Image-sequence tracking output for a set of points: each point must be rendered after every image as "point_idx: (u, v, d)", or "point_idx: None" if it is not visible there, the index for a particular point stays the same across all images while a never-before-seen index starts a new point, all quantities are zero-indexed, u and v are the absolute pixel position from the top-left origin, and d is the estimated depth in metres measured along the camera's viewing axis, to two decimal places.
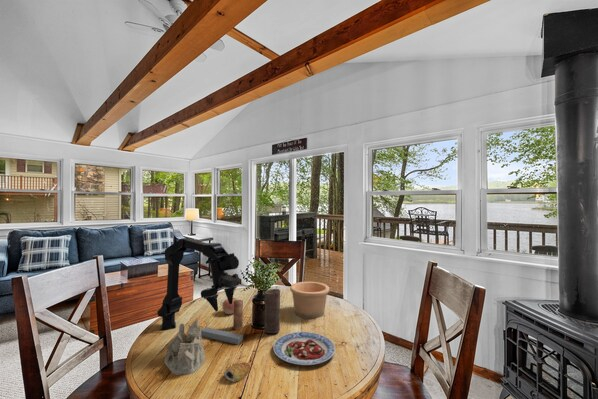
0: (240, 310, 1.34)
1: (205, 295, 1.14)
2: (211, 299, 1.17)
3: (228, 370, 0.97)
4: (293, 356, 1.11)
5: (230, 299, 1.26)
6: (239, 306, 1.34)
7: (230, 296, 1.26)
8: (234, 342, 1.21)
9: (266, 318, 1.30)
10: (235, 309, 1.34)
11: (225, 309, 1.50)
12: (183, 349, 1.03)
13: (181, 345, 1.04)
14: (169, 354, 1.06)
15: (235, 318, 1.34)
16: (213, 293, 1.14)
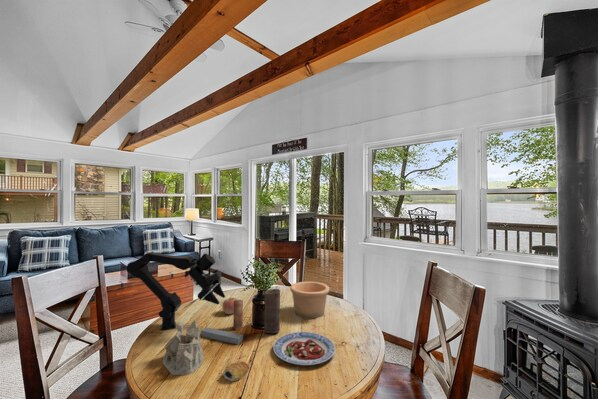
0: (240, 310, 1.34)
1: (203, 294, 1.27)
2: (209, 297, 1.30)
3: (227, 370, 0.97)
4: (293, 356, 1.11)
5: (222, 293, 1.40)
6: (239, 306, 1.34)
7: (220, 291, 1.40)
8: (234, 342, 1.21)
9: (266, 318, 1.30)
10: (235, 309, 1.34)
11: (225, 309, 1.50)
12: (181, 349, 1.03)
13: (180, 345, 1.03)
14: (168, 354, 1.06)
15: (235, 318, 1.34)
16: (209, 289, 1.28)
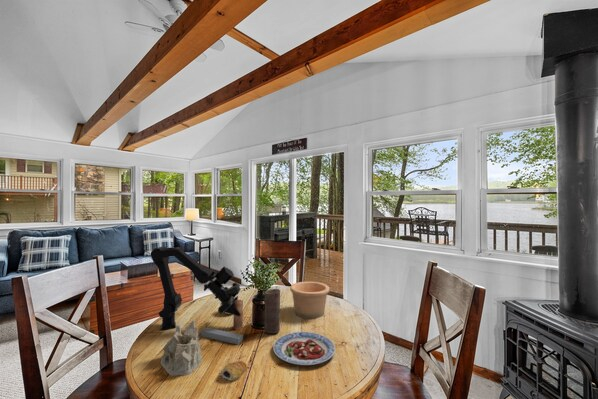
0: (240, 310, 1.34)
1: (224, 309, 1.27)
2: (230, 309, 1.32)
3: (225, 369, 0.97)
4: (293, 356, 1.11)
5: None
6: (239, 306, 1.34)
7: None
8: (234, 342, 1.21)
9: (266, 318, 1.30)
10: None
11: None
12: (179, 350, 1.02)
13: (178, 346, 1.03)
14: (165, 355, 1.05)
15: (235, 318, 1.34)
16: (229, 303, 1.28)
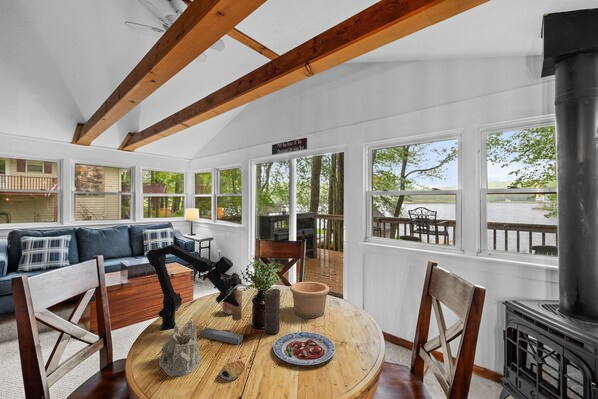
0: (239, 300, 1.32)
1: (221, 298, 1.25)
2: (229, 299, 1.31)
3: (224, 369, 0.97)
4: (293, 356, 1.11)
5: None
6: (237, 296, 1.32)
7: None
8: (234, 342, 1.21)
9: (266, 318, 1.30)
10: None
11: (225, 309, 1.50)
12: (178, 350, 1.02)
13: (176, 346, 1.03)
14: (164, 356, 1.05)
15: (234, 308, 1.32)
16: (227, 292, 1.26)
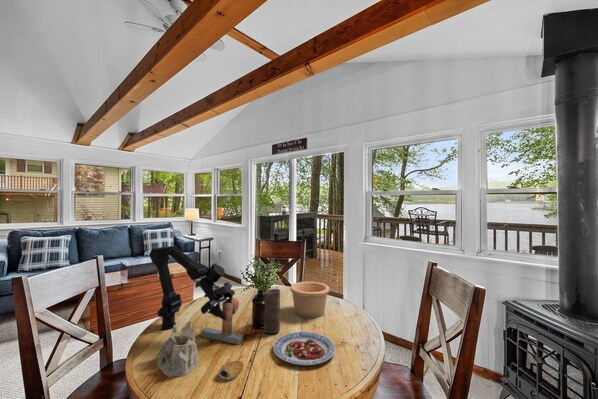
0: (228, 315, 1.23)
1: (205, 309, 1.17)
2: (215, 311, 1.21)
3: (222, 369, 0.97)
4: (293, 356, 1.11)
5: None
6: (226, 310, 1.22)
7: None
8: (234, 342, 1.21)
9: (266, 318, 1.30)
10: None
11: None
12: (176, 351, 1.02)
13: (175, 347, 1.02)
14: (162, 356, 1.04)
15: (223, 323, 1.23)
16: (212, 303, 1.18)
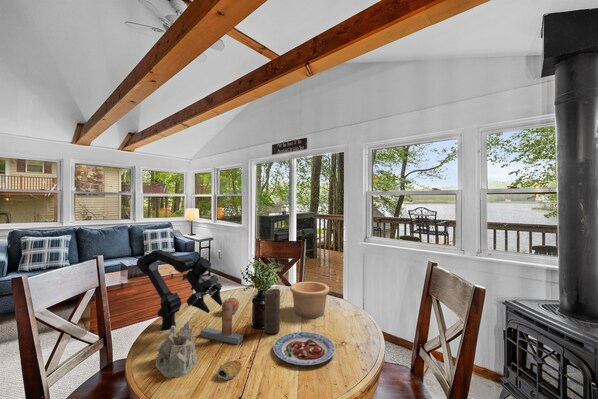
0: (227, 315, 1.22)
1: (191, 301, 1.20)
2: (199, 304, 1.23)
3: (221, 369, 0.98)
4: (293, 356, 1.11)
5: (219, 301, 1.31)
6: (226, 310, 1.22)
7: (218, 298, 1.32)
8: (234, 342, 1.21)
9: (266, 318, 1.30)
10: (222, 313, 1.23)
11: None
12: (174, 351, 1.01)
13: (173, 347, 1.02)
14: (160, 357, 1.04)
15: (222, 323, 1.23)
16: (197, 295, 1.20)
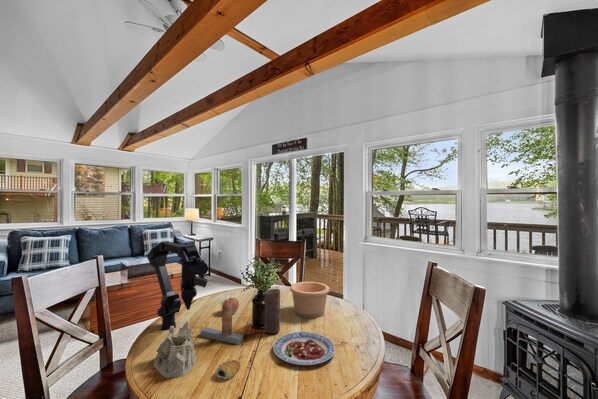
0: (227, 315, 1.22)
1: (189, 294, 1.20)
2: (187, 298, 1.23)
3: (220, 369, 0.98)
4: (293, 356, 1.11)
5: None
6: (226, 310, 1.22)
7: None
8: (234, 342, 1.21)
9: (266, 318, 1.30)
10: (222, 313, 1.23)
11: None
12: (173, 352, 1.01)
13: (172, 347, 1.02)
14: (159, 357, 1.04)
15: (222, 323, 1.23)
16: None
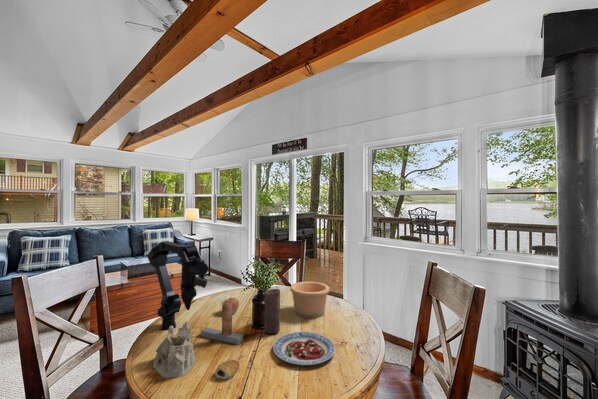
0: (227, 315, 1.22)
1: (188, 295, 1.20)
2: (186, 299, 1.23)
3: (219, 368, 0.98)
4: (293, 356, 1.11)
5: None
6: (226, 310, 1.22)
7: None
8: (234, 342, 1.21)
9: (266, 318, 1.30)
10: (222, 313, 1.23)
11: None
12: (173, 352, 1.01)
13: (171, 348, 1.02)
14: (158, 357, 1.04)
15: (222, 323, 1.23)
16: None
